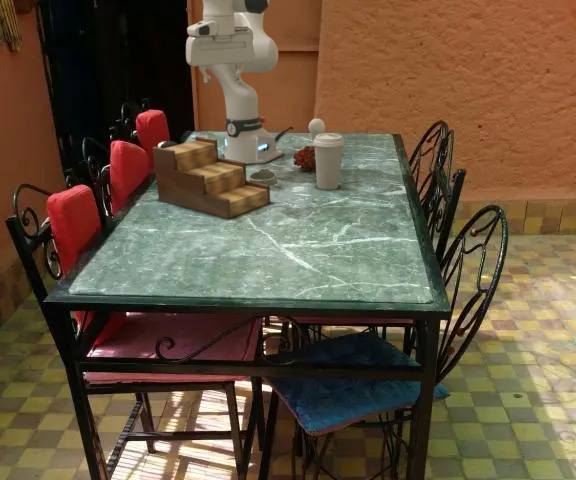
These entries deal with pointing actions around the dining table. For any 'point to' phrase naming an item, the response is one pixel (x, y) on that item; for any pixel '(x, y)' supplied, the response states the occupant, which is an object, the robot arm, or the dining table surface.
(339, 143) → the coffee cup
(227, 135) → the robot arm
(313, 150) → the dragon fruit
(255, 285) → the dining table surface
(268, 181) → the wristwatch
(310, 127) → the lightbulb
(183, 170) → the step shelf
